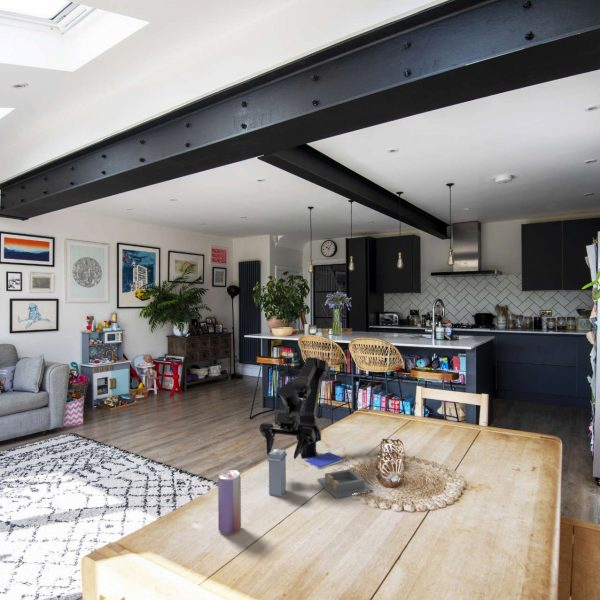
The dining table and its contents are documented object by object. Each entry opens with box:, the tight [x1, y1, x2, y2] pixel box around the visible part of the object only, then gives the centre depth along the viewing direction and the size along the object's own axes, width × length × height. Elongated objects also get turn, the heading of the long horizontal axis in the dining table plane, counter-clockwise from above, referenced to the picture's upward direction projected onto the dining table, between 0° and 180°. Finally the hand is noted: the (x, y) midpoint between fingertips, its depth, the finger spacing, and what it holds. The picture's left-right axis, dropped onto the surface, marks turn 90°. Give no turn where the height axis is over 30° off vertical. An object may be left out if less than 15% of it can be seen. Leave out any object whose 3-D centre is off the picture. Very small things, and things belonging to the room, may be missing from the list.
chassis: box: [316, 468, 374, 500], centre depth 142 cm, size 14×13×3 cm
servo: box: [266, 448, 288, 497], centre depth 138 cm, size 7×4×14 cm, turn 161°
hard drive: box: [303, 451, 344, 470], centre depth 163 cm, size 2×8×12 cm
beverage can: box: [217, 469, 242, 536], centre depth 116 cm, size 6×6×15 cm
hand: (281, 456), depth 141 cm, fingers open, 9 cm apart
